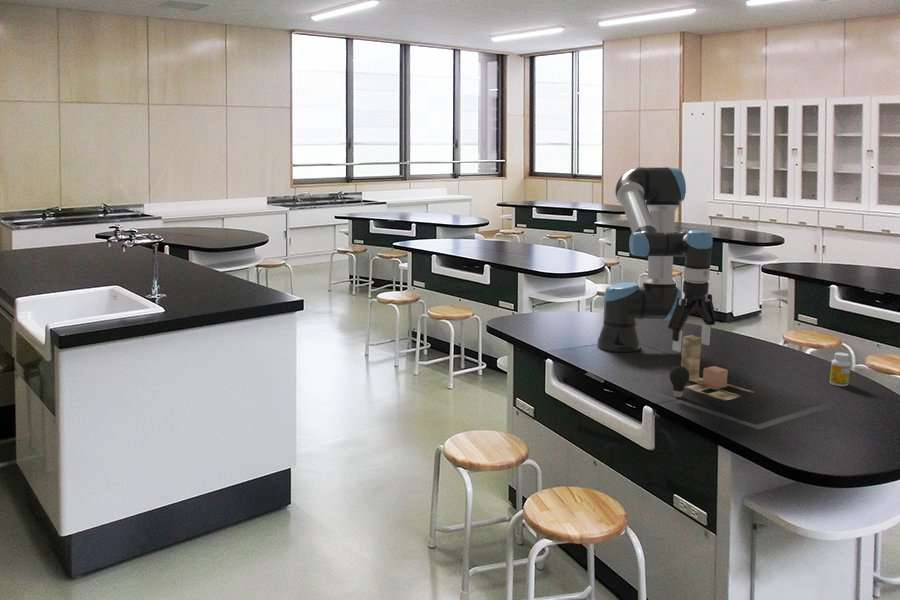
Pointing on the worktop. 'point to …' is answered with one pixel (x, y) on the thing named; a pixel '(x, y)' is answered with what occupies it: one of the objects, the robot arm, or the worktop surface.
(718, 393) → the broken strip
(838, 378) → the supplement bottle
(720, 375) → the terracotta cube
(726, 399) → the lane rails
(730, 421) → the worktop surface
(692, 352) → the tan boxy piece
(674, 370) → the light bulb
